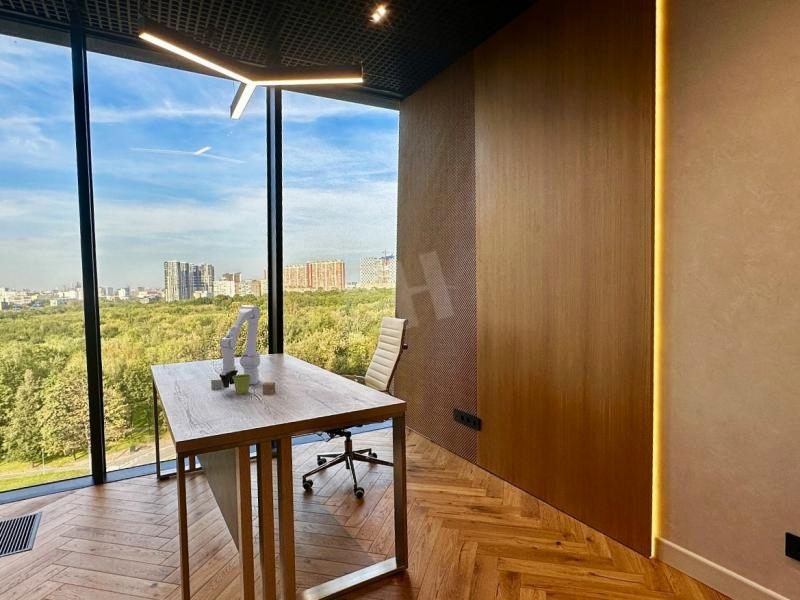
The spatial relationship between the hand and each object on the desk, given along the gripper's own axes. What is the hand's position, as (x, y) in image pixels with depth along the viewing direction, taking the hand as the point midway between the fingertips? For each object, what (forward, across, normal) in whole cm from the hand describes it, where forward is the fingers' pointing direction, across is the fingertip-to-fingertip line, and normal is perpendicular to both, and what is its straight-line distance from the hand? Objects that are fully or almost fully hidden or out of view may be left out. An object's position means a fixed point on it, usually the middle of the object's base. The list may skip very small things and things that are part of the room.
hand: (229, 385), depth 239 cm
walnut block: (+3, +4, +22) cm, 22 cm away
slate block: (+3, -7, -9) cm, 12 cm away
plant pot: (+3, +4, +8) cm, 9 cm away
